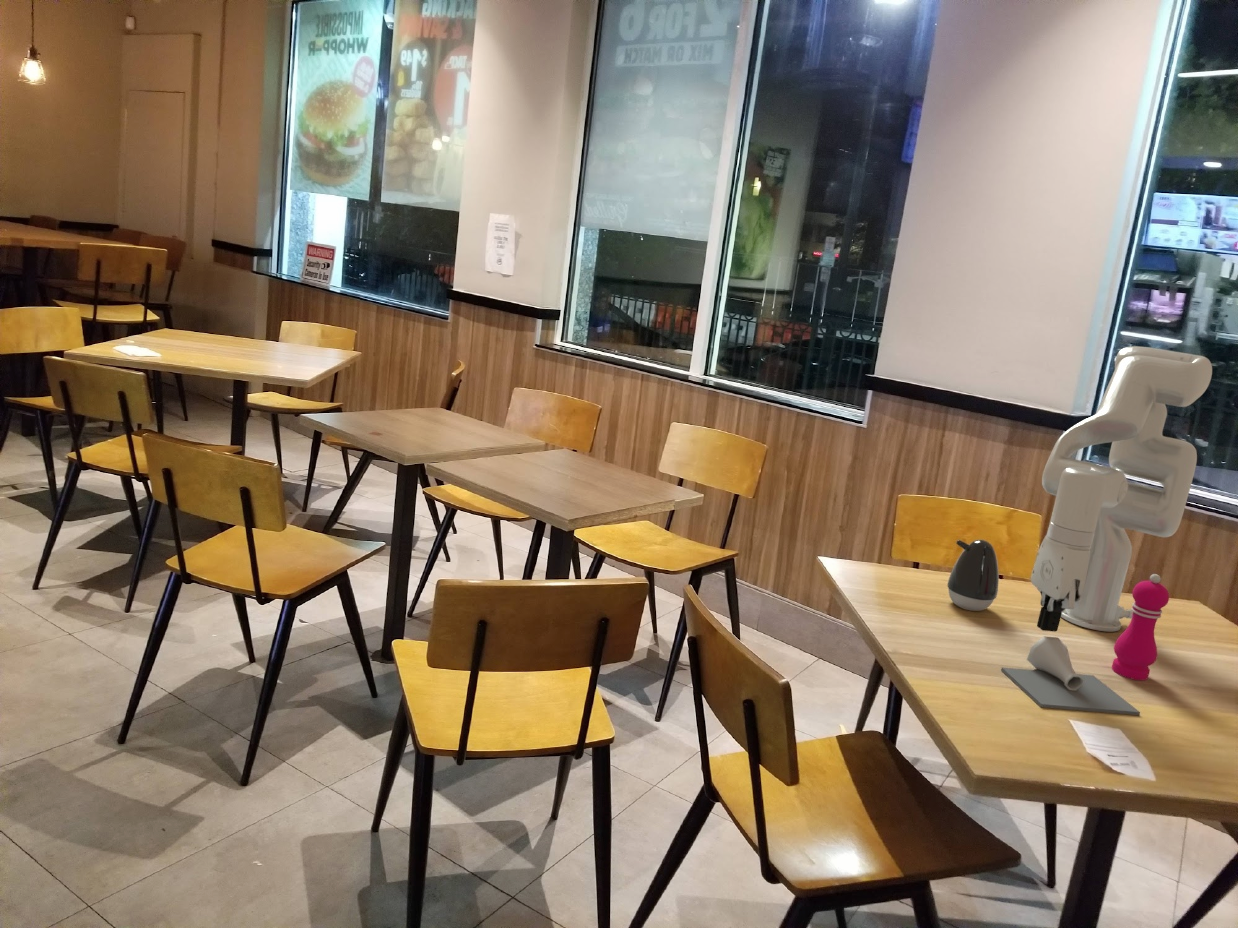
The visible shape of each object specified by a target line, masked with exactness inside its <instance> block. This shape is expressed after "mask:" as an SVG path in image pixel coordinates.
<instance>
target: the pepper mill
mask: <svg viewBox="0 0 1238 928" xmlns="http://www.w3.org/2000/svg"><path fill="white" fill-rule="evenodd" d="M1161 579H1162V578H1161V576H1160V575H1158V574H1156V573H1152V574H1151V575H1149V580H1142V581H1139V582H1138V583H1136V584H1135V586H1134V588H1133V589H1132V593H1131V594H1132V595H1131V596H1132V598H1133V600H1134V602H1132V605H1131V606H1132V607H1131V608H1130V610H1132V611H1133V615H1132V619H1130V622H1129V624H1128V625H1127V627H1126V629H1125V630H1124V631H1123V632H1122V633H1121V634H1120V635H1119V636H1118V638H1117V639H1116V641H1115V642H1114V647H1113V651H1114V654H1115V655H1116V657H1115V658H1114V659H1113V661H1112V665H1111V669H1112V670H1113V672H1114V673H1116V674H1117V675H1119V676H1122V677H1123V678H1124V677H1125V678H1127V679H1131V680H1135V681H1146V680H1148V678H1149V675H1150V672H1151V669H1150V668H1149V666H1151V665H1153V664H1154V663H1155V662H1156V661H1157V658H1158V647H1157V643H1156V639H1155V628H1156V625H1157V621H1158V619H1161V617H1162V614H1163V610H1162V609H1163V608H1164V607H1166V606H1167V605H1168V602H1169V601H1170V593H1169V591H1168V589H1167V587H1166V586H1164V585H1163V584H1161V583H1160V582H1161Z"/></svg>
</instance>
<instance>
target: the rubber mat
mask: <svg viewBox="0 0 1238 928" xmlns="http://www.w3.org/2000/svg"><path fill="white" fill-rule="evenodd" d="M1000 670H1001V672H1002V673H1003V674H1005V676H1006V677H1007V678H1009V679H1010V680H1011V682H1013V683H1014V684H1015V685H1016V686H1017V687H1018V688H1019V689H1021V691H1023V692H1024V693H1025V695H1027V697H1029V698H1030V699H1032V701H1033V702H1034V703H1036V704H1037V706H1039V708H1045V709H1058V710H1067V711H1068V710H1070V711H1082V712H1092V713H1093V712H1094V713H1107V714H1117V715H1119V714H1120V715H1130V716H1131V715H1132V716H1140V715H1141V711H1140V710H1139V709H1137V708H1135V707H1134V706H1133V705H1131V703H1129V702H1128V701H1126V699H1124V698H1123V697H1122V696H1120V695H1119V694H1118V693H1116V692H1115V691H1114V690H1113V689H1111V688H1110V687H1109V686H1108V685H1107V684H1106V683H1104V682H1102V680H1100V679H1099V678H1097V677H1096V676H1095V675H1094V674H1093V675H1092V674H1084V673H1083V674H1081V673H1076V674H1077V675H1080V676H1081V678H1082V679H1083V680H1084V682H1083V684H1082V687H1080V688H1079V689H1078V690H1077V691H1071V690H1069V689H1068V688H1067V687H1066V686H1065V685H1064V684H1065V683H1064V682H1063V681H1061V680H1060V679H1059V678H1057V677H1054V676H1052V675H1050V674H1048V673H1046V672H1044V671H1040V670H1038V669H1023V668H1014V667H1012V668H1011V667H1003V666H1002V667H1001V669H1000Z"/></svg>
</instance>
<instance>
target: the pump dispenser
mask: <svg viewBox="0 0 1238 928" xmlns="http://www.w3.org/2000/svg"><path fill="white" fill-rule="evenodd" d="M956 545H958V547H960V548H962V549H963V550H962V552H961V553H960V555H959V557H958V559H956V562H954V565H953V568H952V571H951V573H950V575H949V578H948V581H947V585H946V586H947V588H948V595H949V598H950V600H951V602H953V604H954V605H956V606H957V607H959V608H961V609H963V610H966V611H971V612H981V611H984V610H986V609H987V608H989V607H990V606H991V605H992V604H993V602H994V601H995V599H997V596H998V592H999V582H1000V581H999V579H1000V578H999V575H1000V574H999V573H1000V572H999V565H998V564H999V563H998V558H997V554H996V550H995V549H994V546H993V545H992V544H991V543H990V542H989V541H988V540H984V539H975V540H973V541H971V542H970V543H969V544H968V543H966V542H964V541H962V540H960V539H958V540H957V541H956Z"/></svg>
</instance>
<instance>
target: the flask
mask: <svg viewBox="0 0 1238 928" xmlns="http://www.w3.org/2000/svg"><path fill="white" fill-rule="evenodd" d="M1026 660H1027V662H1029V663H1030V664H1031V665H1032V666H1033V668H1035V670H1038V671H1044V672H1046V673H1048V674H1050V675H1052V676H1054V677H1057V678H1059V679H1060V680H1061V681H1063V682H1064V683H1065V684H1064V685H1065V686H1066V687H1067V688H1068V689H1069V690H1071V691H1077V690H1078V689H1079V688H1080V687H1082V684H1083V682H1084V680H1083V679H1082V678H1081V676H1080V675H1077V674H1078V673H1076V671H1075V669H1074V668H1073V665H1072V661H1071V659H1070V653H1069V650H1068V646H1067V645H1066V644H1065V643H1064V642H1063V641H1062V640H1061V639H1060V637H1056V636H1055V637H1054V636H1042V637H1041V638H1040V639H1039V640H1037V641H1036V642H1035V643H1033V645H1031V646H1030V649H1029V651H1028V655H1027V658H1026Z"/></svg>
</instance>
